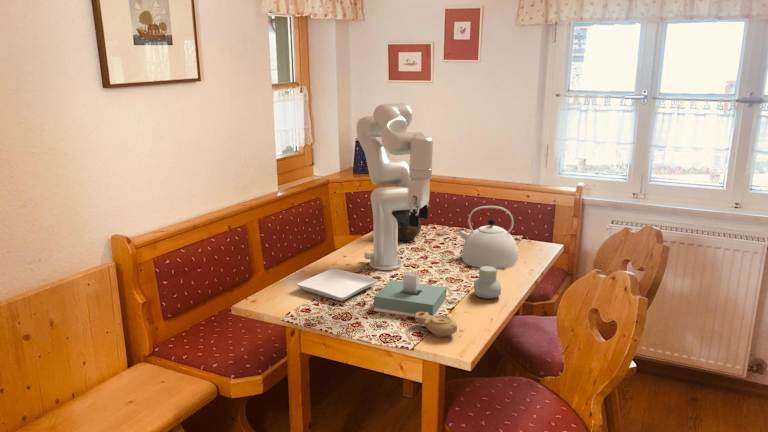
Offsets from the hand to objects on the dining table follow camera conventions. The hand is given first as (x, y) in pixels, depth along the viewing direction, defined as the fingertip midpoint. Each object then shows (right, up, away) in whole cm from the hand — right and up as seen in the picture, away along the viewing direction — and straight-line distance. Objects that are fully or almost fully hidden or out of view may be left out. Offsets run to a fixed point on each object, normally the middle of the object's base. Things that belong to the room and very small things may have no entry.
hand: (418, 222), depth 214 cm
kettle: (+30, -16, +42) cm, 54 cm away
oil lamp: (+4, -33, -24) cm, 41 cm away
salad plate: (-28, -25, +9) cm, 39 cm away
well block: (-3, -28, -5) cm, 28 cm away
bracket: (-3, -27, -5) cm, 27 cm away
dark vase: (-4, -8, +70) cm, 70 cm away
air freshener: (+24, -26, +4) cm, 35 cm away
